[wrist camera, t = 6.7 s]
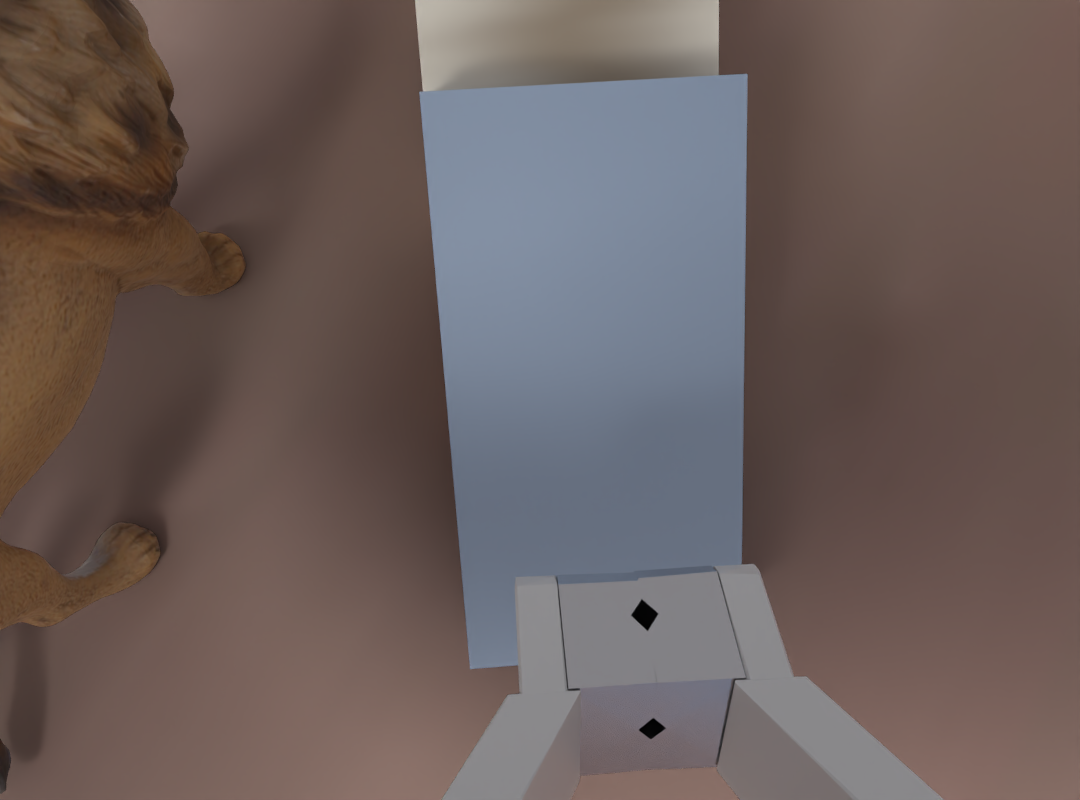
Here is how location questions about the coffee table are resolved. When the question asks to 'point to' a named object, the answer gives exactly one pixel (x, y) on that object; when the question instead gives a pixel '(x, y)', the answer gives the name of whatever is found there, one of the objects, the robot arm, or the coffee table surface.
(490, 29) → the domino
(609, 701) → the robot arm
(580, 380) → the domino
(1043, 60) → the coffee table surface
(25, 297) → the lion figurine
